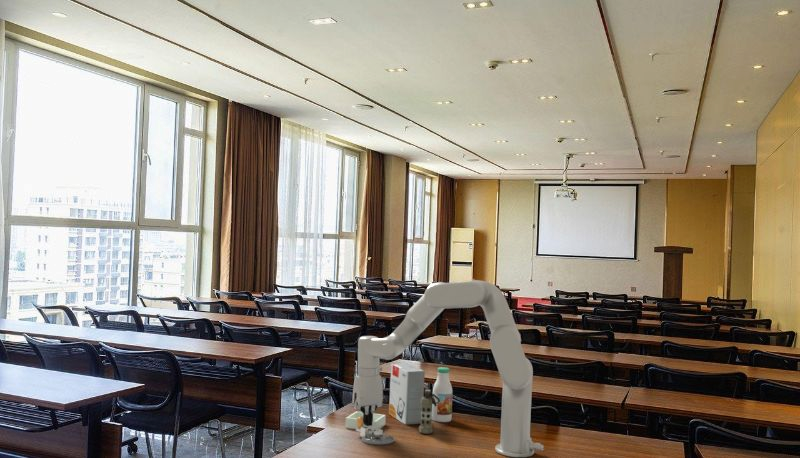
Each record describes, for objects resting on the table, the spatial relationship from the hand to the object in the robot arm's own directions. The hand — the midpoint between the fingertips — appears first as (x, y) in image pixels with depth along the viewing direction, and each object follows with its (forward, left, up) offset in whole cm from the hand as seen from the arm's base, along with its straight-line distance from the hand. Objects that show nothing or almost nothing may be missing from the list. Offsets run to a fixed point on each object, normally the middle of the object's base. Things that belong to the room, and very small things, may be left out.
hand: (367, 425), depth 231 cm
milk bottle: (-18, -32, -4) cm, 37 cm away
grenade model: (-18, -13, -4) cm, 23 cm away
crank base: (-5, +5, -3) cm, 8 cm away
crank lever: (-2, +4, -2) cm, 5 cm away
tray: (+5, -10, -3) cm, 12 cm away
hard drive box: (-5, -27, -4) cm, 28 cm away
